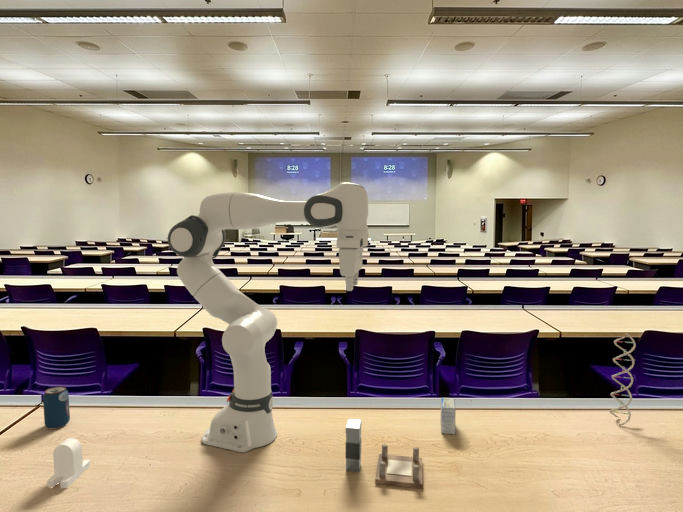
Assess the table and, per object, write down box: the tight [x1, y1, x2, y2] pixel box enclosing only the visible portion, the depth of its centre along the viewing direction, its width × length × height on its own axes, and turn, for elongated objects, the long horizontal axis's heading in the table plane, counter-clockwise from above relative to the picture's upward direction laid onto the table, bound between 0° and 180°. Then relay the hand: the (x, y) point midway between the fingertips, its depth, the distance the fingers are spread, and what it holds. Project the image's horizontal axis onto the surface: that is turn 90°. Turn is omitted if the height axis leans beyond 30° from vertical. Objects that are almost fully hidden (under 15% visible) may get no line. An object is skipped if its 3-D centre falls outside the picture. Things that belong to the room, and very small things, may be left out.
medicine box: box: [440, 397, 457, 435], centre depth 139 cm, size 8×4×9 cm, turn 168°
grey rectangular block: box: [345, 418, 363, 473], centre depth 117 cm, size 4×5×13 cm
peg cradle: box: [374, 443, 424, 489], centre depth 115 cm, size 12×12×5 cm
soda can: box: [42, 385, 71, 429], centre depth 141 cm, size 7×7×12 cm
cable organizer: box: [47, 437, 91, 489], centre depth 113 cm, size 5×10×10 cm, turn 178°
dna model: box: [609, 332, 637, 426], centre depth 142 cm, size 7×6×30 cm
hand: (352, 287), depth 124 cm, fingers open, 8 cm apart
